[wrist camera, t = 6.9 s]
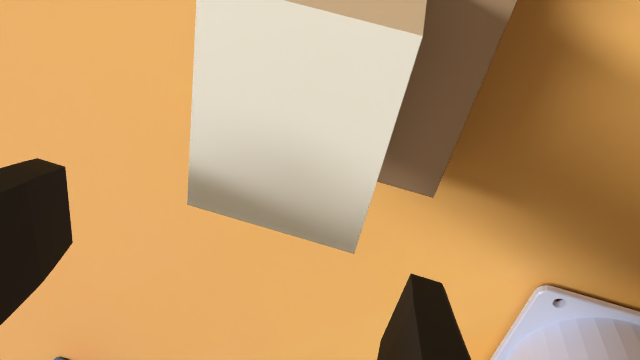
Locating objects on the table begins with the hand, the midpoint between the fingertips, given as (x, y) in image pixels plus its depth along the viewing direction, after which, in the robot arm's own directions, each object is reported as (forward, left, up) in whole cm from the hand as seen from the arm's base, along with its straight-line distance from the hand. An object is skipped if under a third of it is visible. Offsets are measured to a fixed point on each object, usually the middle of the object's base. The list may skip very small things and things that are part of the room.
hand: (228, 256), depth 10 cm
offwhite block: (0, -2, -7) cm, 8 cm away
